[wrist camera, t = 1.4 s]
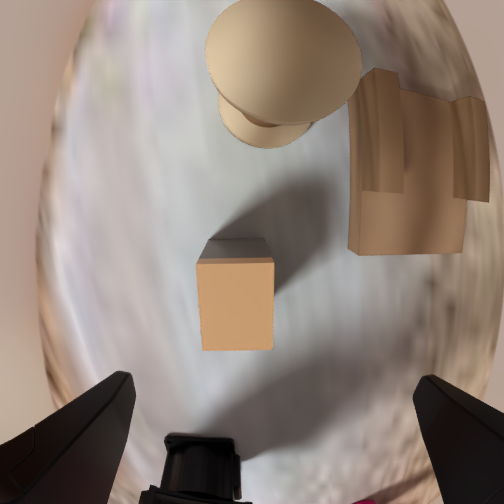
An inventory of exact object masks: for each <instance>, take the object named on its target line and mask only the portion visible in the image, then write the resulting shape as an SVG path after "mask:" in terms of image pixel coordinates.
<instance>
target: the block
mask: <svg viewBox="0 0 504 504" xmlns="http://www.w3.org/2000/svg"><path fill="white" fill-rule="evenodd" d="M196 272H197V288H198V302H199V315H200V327H201V338H202V349H203V351H235V350H270V349H273V313H274V261H273V259H272V256H271V254H270V252H269V250H268V247H267V245H266V243H265V241H264V238H262V239H209V240H208V242H207V244H206V246H205V248H204V250H203V252H202V254H201V256H200V257H199V259H198V261H197V263H196Z"/></svg>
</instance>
